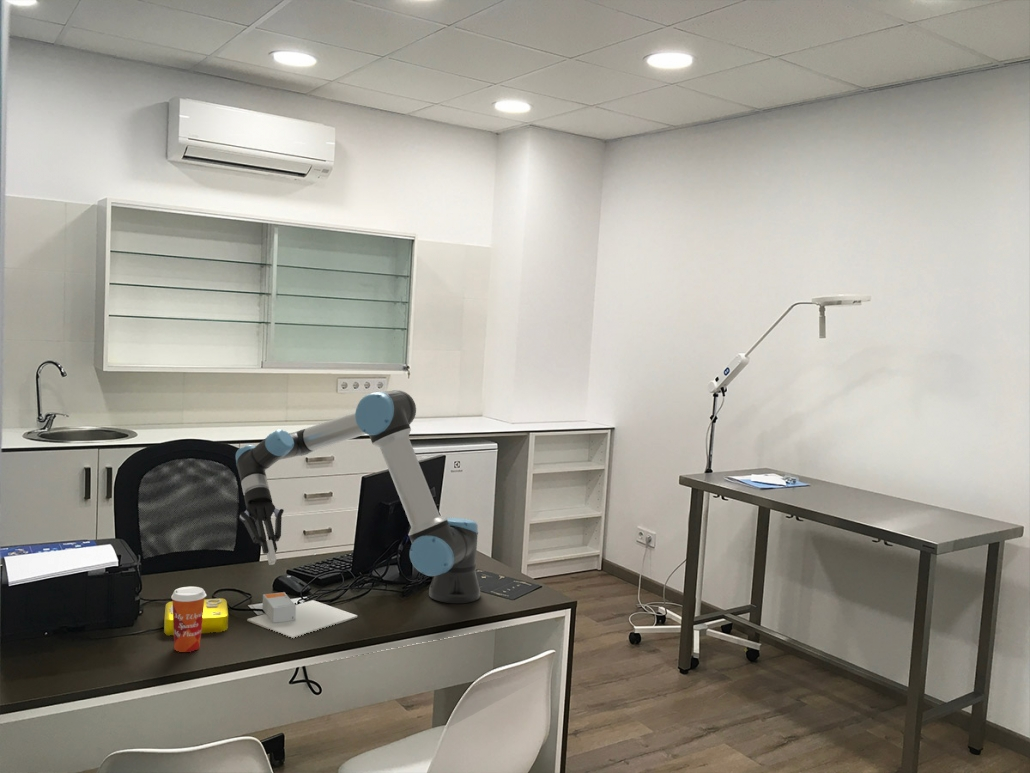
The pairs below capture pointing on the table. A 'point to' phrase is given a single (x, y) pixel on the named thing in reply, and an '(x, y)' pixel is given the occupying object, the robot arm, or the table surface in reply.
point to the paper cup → (187, 617)
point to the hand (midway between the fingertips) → (272, 562)
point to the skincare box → (279, 607)
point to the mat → (305, 619)
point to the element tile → (212, 616)
